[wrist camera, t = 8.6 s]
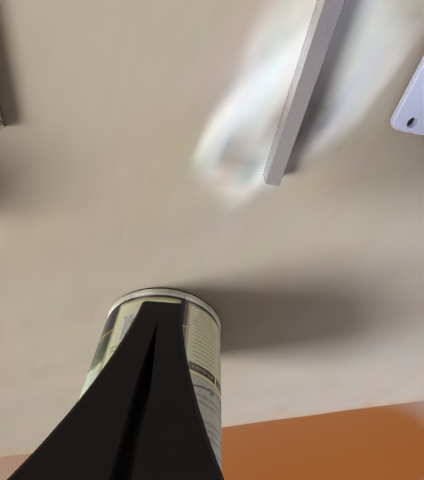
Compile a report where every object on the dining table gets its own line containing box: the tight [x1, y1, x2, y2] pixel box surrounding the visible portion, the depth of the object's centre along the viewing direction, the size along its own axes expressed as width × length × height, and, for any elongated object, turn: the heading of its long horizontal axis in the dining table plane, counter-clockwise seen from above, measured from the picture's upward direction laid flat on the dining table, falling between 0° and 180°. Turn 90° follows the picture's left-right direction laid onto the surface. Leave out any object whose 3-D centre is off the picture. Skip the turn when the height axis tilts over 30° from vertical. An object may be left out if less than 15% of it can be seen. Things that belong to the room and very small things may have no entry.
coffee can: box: [79, 289, 222, 472], centre depth 22 cm, size 10×10×14 cm
